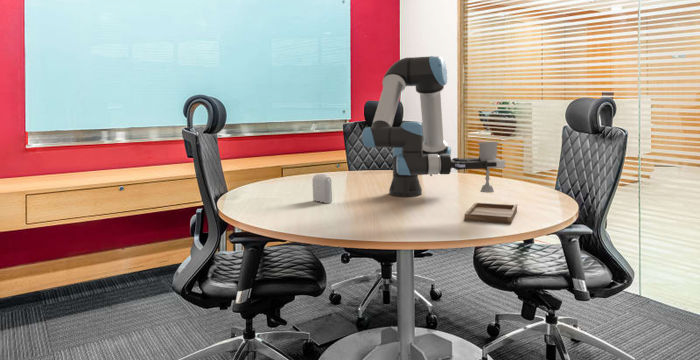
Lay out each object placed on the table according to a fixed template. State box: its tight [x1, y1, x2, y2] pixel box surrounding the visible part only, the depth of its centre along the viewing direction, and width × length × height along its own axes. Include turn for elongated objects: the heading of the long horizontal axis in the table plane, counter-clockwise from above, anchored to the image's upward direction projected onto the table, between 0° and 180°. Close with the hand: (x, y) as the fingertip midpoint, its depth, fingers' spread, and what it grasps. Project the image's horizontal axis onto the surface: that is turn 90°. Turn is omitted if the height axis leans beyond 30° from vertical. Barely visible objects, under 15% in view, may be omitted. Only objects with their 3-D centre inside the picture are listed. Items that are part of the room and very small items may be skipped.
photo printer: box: [311, 173, 333, 204], centre depth 221 cm, size 10×4×12 cm, turn 39°
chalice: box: [478, 141, 499, 194], centre depth 185 cm, size 7×7×18 cm
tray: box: [463, 202, 518, 225], centre depth 189 cm, size 22×16×2 cm
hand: (501, 162), depth 185 cm, fingers closed on chalice, 6 cm apart
